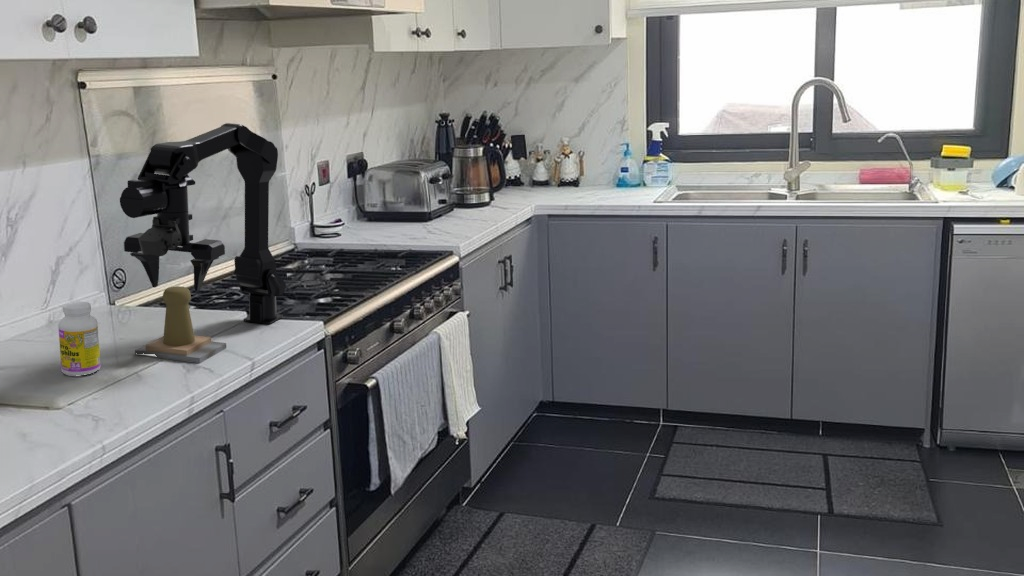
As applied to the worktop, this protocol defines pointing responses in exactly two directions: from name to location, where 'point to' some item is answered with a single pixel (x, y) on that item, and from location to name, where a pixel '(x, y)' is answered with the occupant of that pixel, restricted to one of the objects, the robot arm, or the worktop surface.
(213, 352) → the stand
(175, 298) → the cork
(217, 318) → the worktop surface
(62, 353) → the supplement bottle
